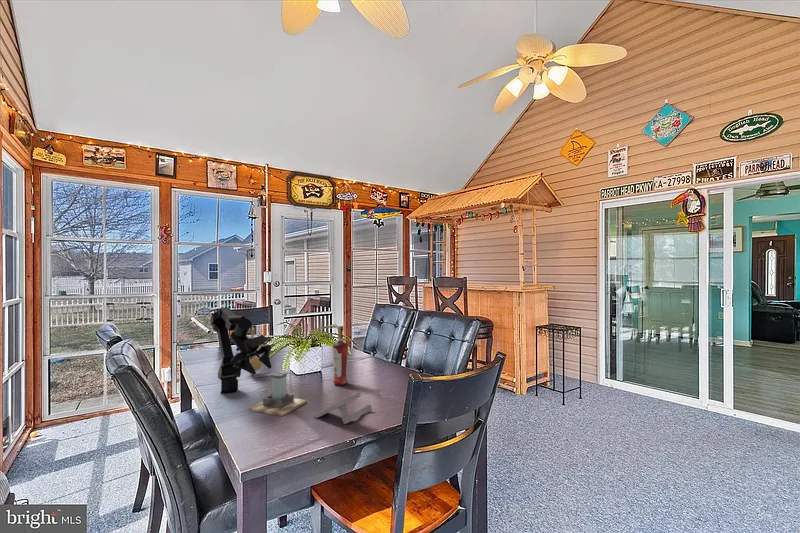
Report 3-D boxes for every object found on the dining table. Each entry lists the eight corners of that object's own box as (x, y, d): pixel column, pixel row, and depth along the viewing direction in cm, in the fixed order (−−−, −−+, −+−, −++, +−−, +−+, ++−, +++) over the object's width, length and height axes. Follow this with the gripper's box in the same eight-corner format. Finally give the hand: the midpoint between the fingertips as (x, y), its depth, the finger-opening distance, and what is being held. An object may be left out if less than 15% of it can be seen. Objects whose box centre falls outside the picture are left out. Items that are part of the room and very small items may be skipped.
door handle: (320, 435, 144) (355, 419, 134) (313, 414, 147) (346, 397, 137) (352, 419, 159) (386, 403, 149) (344, 400, 161) (377, 383, 151)
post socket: (248, 410, 153) (248, 400, 153) (275, 397, 168) (275, 388, 168) (282, 416, 148) (282, 405, 148) (306, 402, 162) (306, 392, 162)
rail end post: (271, 404, 157) (271, 375, 157) (277, 401, 161) (278, 372, 161) (279, 406, 155) (279, 376, 155) (286, 402, 159) (286, 373, 159)
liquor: (329, 384, 188) (329, 326, 188) (341, 380, 193) (341, 324, 193) (338, 387, 183) (339, 328, 183) (350, 384, 188) (351, 326, 188)
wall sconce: (264, 376, 200) (265, 328, 200) (245, 379, 195) (245, 329, 195) (258, 370, 212) (259, 324, 212) (240, 372, 207) (240, 326, 207)
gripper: (236, 333, 154) (258, 364, 150) (268, 326, 171) (288, 353, 167) (221, 351, 157) (242, 382, 153) (254, 342, 174) (274, 369, 171)
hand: (263, 370), depth 161 cm, fingers open, 9 cm apart
